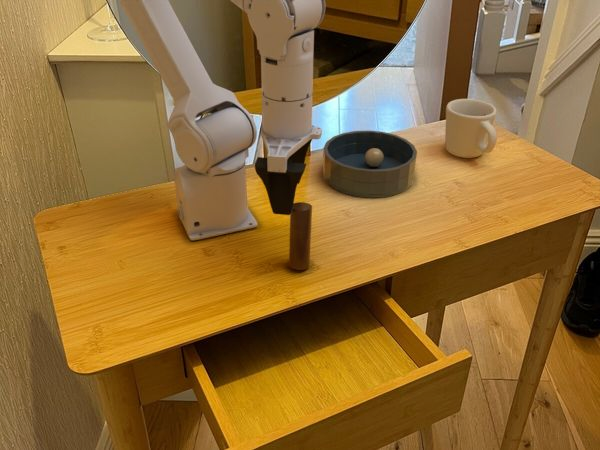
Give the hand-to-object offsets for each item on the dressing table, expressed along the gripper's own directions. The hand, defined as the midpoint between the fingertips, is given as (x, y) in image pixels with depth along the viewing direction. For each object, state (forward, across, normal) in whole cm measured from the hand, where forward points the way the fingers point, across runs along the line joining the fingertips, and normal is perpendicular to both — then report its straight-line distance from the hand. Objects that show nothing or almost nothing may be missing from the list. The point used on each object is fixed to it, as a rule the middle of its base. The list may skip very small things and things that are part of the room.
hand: (287, 196), depth 77 cm
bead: (+6, +24, -10) cm, 26 cm away
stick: (+7, -4, -2) cm, 9 cm away
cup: (+8, +31, -26) cm, 41 cm away
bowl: (+8, +22, -10) cm, 25 cm away
